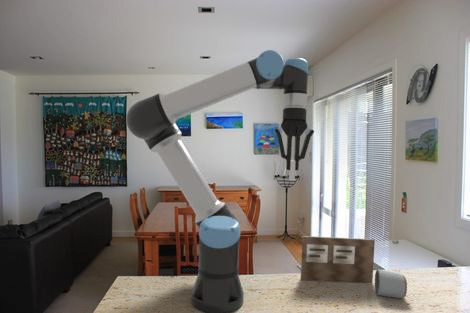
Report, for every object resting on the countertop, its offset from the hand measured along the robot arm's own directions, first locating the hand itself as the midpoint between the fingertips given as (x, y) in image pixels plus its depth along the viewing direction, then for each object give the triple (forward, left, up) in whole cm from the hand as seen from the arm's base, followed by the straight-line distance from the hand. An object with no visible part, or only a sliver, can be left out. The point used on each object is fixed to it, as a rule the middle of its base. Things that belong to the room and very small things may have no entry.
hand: (291, 180), depth 104 cm
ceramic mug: (+31, -4, -35) cm, 47 cm away
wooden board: (+17, +3, -34) cm, 39 cm away
